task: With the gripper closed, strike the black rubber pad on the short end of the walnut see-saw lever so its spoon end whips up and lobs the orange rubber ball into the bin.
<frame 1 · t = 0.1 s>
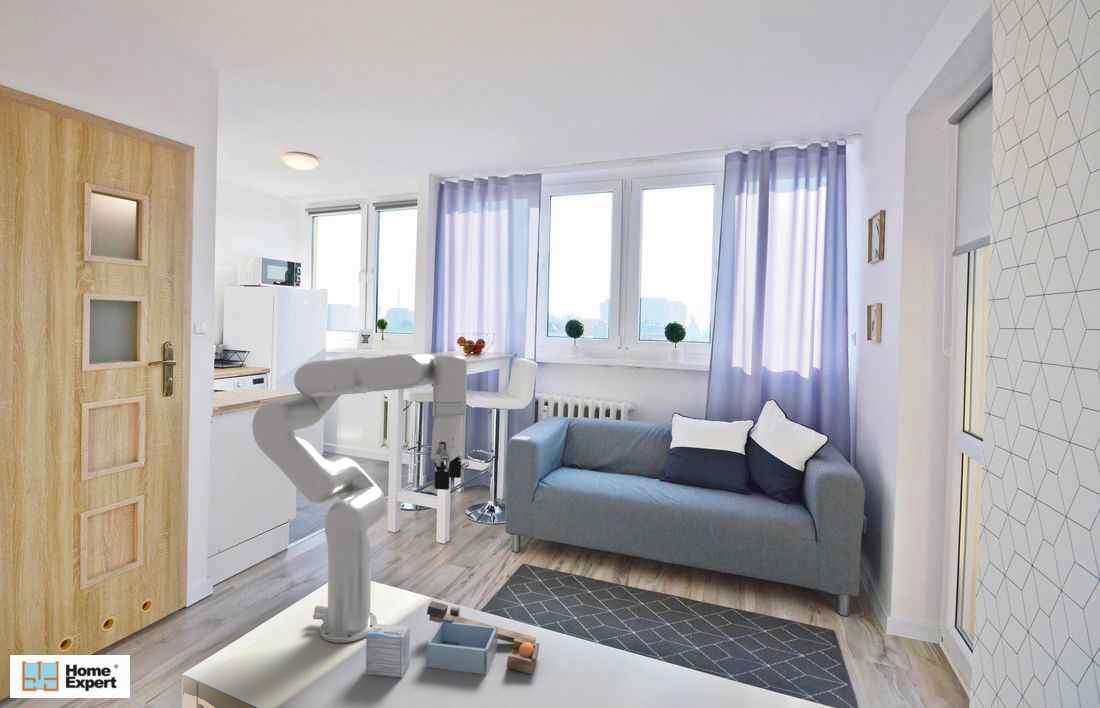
hand: (448, 482, 120), 37 cm above the table, tool pointing down, fingers open, 9 cm apart
bin: (462, 657, 115), on the table
medicine box: (387, 671, 110), on the table
lever: (479, 635, 117), point 4 cm above the table, hinge at 9.2°, touching ball
ball: (523, 657, 113), point 2 cm above the table, tilted 23°, touching lever
fulcrum: (451, 637, 122), on the table
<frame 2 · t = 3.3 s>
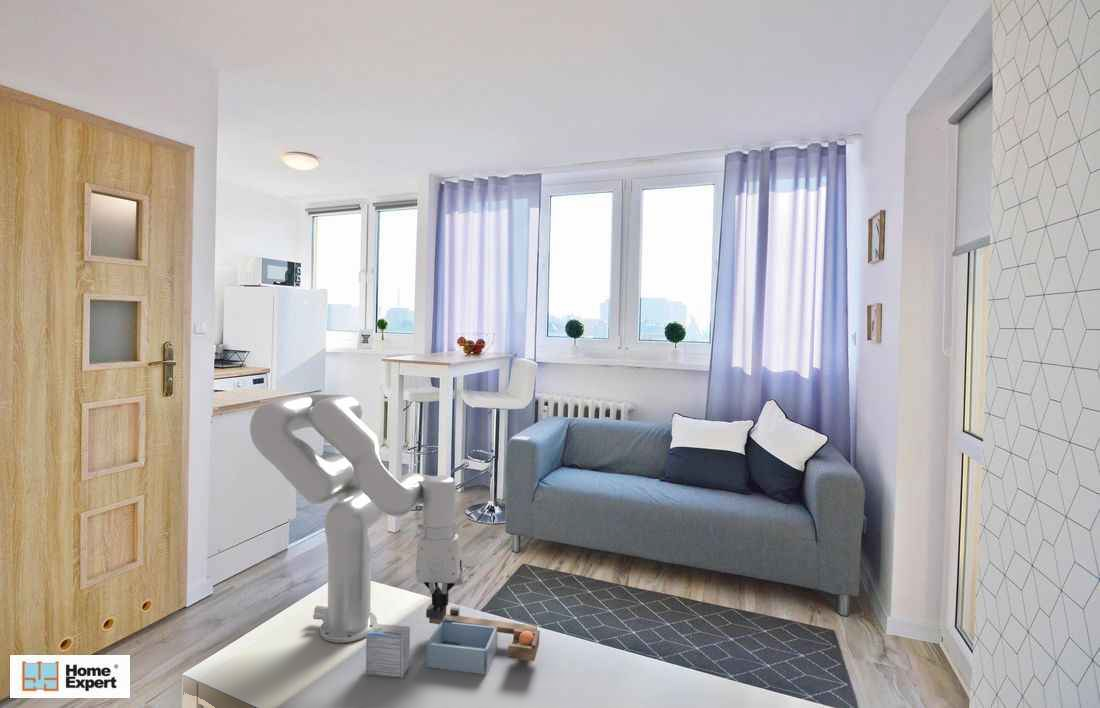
hand: (440, 607, 122), 7 cm above the table, tool pointing down, fingers closed
lever: (478, 630, 117), point 5 cm above the table, hinge at 1.2°, touching ball, gripper
ball: (524, 645, 113), point 4 cm above the table, tilted 15°, touching lever
everything else where it was.
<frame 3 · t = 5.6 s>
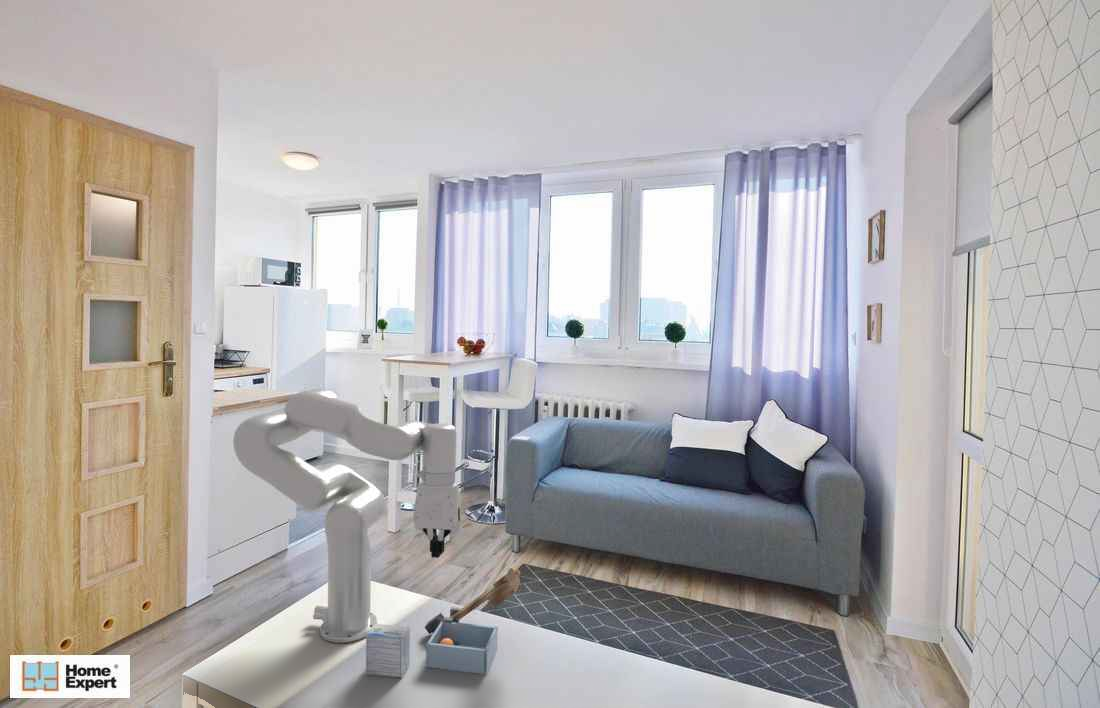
hand: (437, 555, 122), 19 cm above the table, tool pointing down, fingers closed
lever: (468, 608, 117), point 10 cm above the table, hinge at -39.0°, touching fulcrum
ball: (449, 640, 115), point 4 cm above the table, tilted 157°, touching bin
everything else where it was.
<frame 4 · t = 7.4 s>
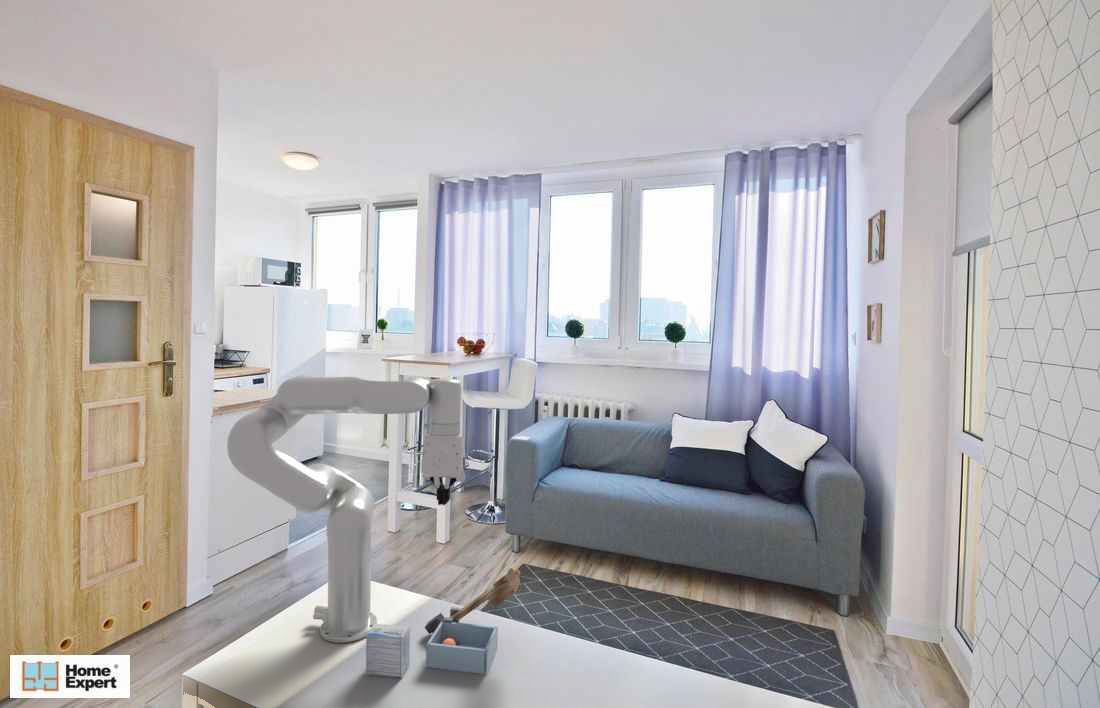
hand: (443, 503, 129), 29 cm above the table, tool pointing down, fingers closed
ball: (453, 641, 115), point 3 cm above the table, tilted 137°, touching bin
everything else where it was.
at the end: ball inside the target area on the bin (2.1 cm from its centre), point 3.2 cm above the bin's base; ball touching bin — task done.
